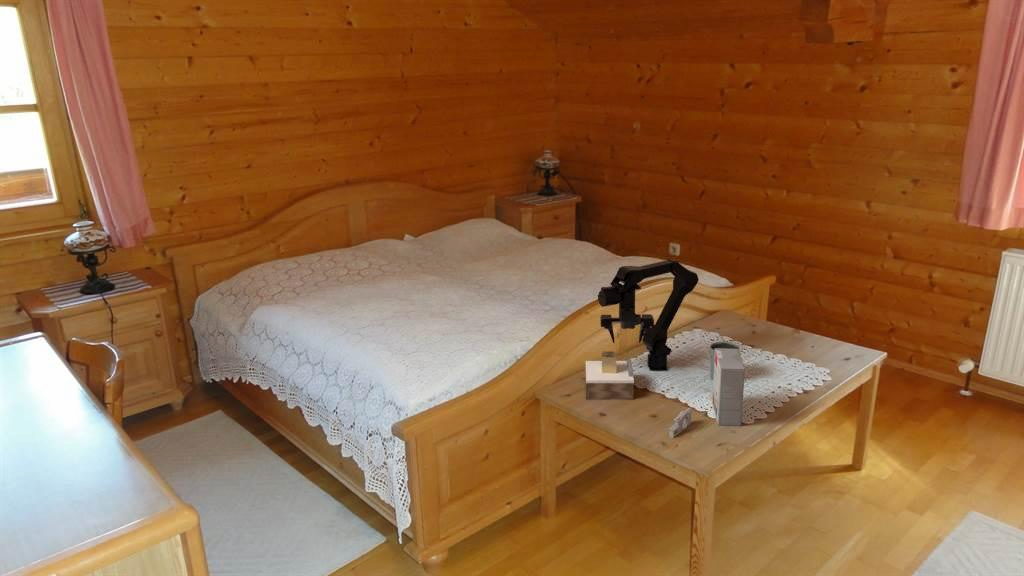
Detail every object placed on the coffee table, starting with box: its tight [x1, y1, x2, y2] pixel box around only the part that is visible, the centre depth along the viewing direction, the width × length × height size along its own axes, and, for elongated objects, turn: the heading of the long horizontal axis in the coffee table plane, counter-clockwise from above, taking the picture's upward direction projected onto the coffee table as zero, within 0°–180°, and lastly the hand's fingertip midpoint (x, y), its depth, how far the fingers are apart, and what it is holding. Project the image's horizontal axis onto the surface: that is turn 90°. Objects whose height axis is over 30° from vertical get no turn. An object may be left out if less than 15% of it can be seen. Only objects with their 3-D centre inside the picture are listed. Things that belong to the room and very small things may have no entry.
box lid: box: [585, 358, 635, 384], centre depth 248 cm, size 16×16×3 cm
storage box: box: [584, 363, 635, 401], centre depth 249 cm, size 16×16×6 cm
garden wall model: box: [668, 407, 693, 438], centre depth 221 cm, size 12×2×6 cm, turn 139°
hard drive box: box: [712, 348, 746, 427], centre depth 227 cm, size 16×8×20 cm, turn 171°
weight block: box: [601, 350, 617, 373], centre depth 247 cm, size 5×5×6 cm
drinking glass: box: [709, 341, 740, 381], centre depth 253 cm, size 10×10×12 cm
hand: (626, 342), depth 257 cm, fingers open, 9 cm apart
